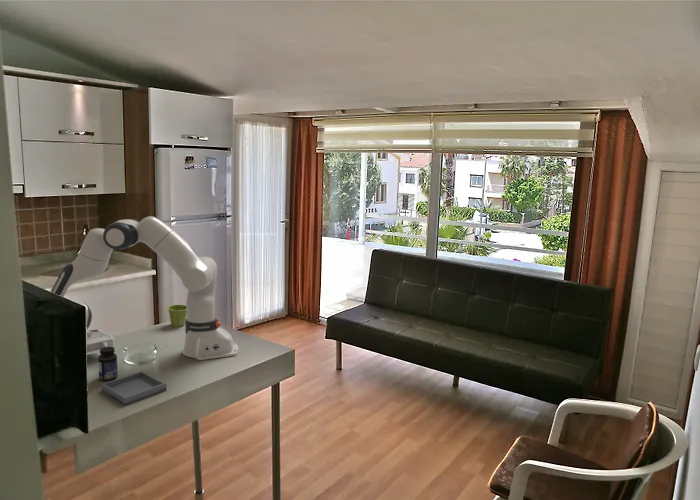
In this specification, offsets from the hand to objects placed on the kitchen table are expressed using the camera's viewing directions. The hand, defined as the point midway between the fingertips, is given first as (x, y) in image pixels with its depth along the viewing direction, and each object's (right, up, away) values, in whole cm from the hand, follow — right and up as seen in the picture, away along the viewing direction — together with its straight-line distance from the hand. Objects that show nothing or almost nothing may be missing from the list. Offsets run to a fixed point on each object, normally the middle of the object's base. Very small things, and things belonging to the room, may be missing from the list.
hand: (93, 352), depth 191 cm
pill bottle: (+9, -8, -7) cm, 14 cm away
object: (+14, +2, +51) cm, 53 cm away
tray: (+22, -10, -15) cm, 28 cm away
